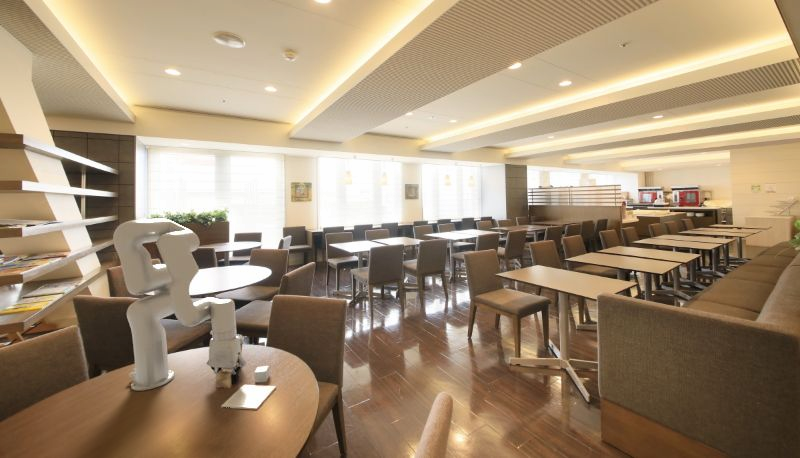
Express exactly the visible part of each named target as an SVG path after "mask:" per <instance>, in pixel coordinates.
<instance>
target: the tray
mask: <svg viewBox="0 0 800 458" xmlns="http://www.w3.org/2000/svg"><path fill="white" fill-rule="evenodd" d="M276 388H277V386H276V385H263V384H260V385H259V384H243V385H242V386H241V387H240V388H239V389H237V391H235V392H234V393H233V394H232V395H231V396H230V397H229V398H228V399H227V400H225V402H224V403H223V404H221V408H223V407H226V408H227V407H228V408H227V409H229V407H230V409H242V410H243V409H244V410H258V409H259V408H260V407H261V405H262V404H263V403H265V401H266V400H267V399H268V398H269V396H270V395H272V393H273V392H274V390H275V389H276Z"/></svg>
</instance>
